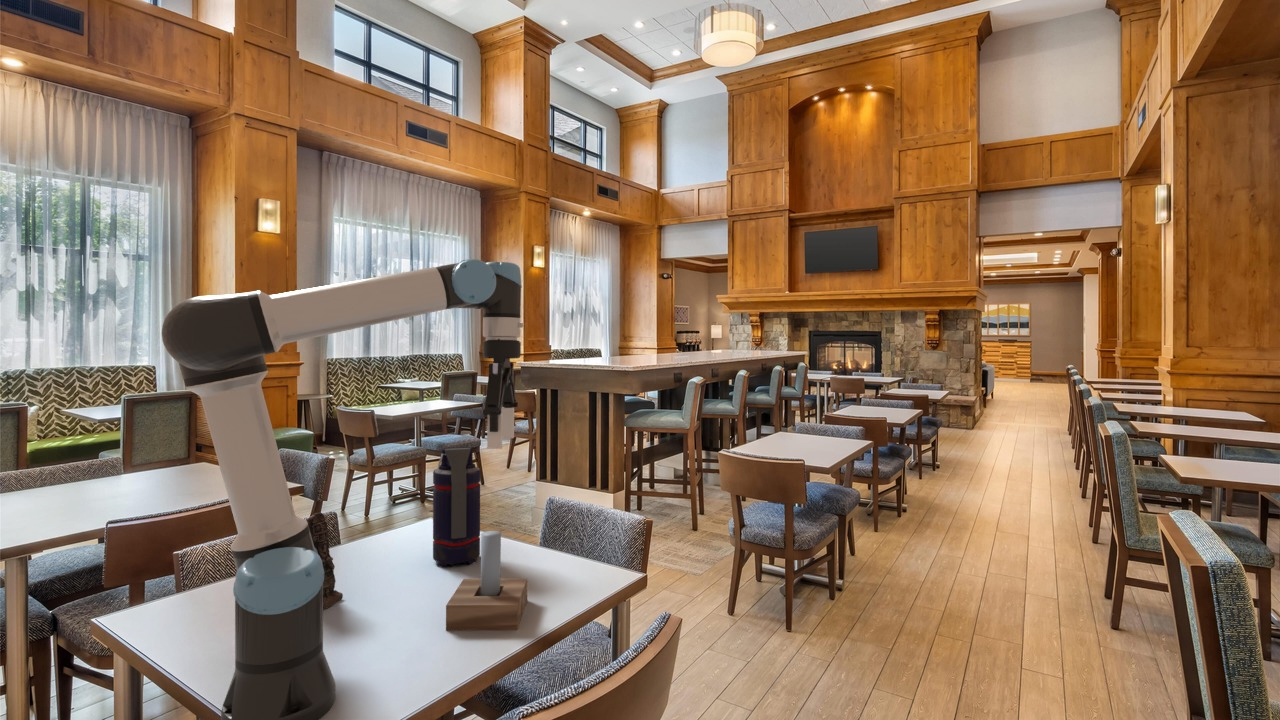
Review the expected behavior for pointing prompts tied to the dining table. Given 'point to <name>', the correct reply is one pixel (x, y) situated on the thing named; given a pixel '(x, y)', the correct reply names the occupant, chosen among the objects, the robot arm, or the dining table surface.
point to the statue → (324, 557)
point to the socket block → (487, 606)
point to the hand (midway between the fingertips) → (501, 443)
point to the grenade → (456, 507)
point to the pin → (490, 563)
